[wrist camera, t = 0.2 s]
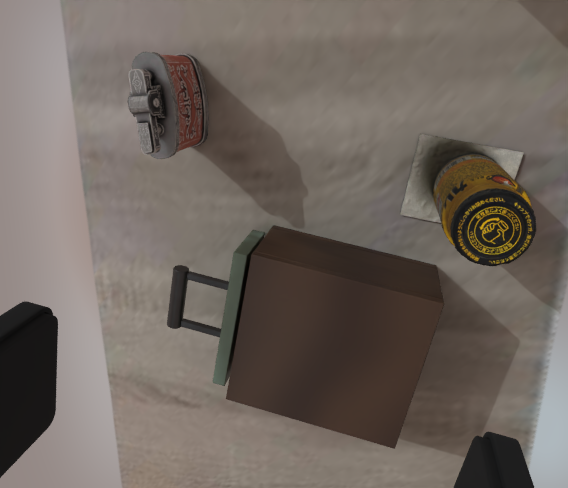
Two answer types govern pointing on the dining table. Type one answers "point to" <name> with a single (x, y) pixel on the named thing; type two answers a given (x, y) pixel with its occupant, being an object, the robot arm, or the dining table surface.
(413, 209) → the condiment
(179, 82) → the lighter
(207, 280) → the drawer
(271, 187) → the dining table surface
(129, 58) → the dining table surface
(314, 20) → the dining table surface
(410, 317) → the cabinet
